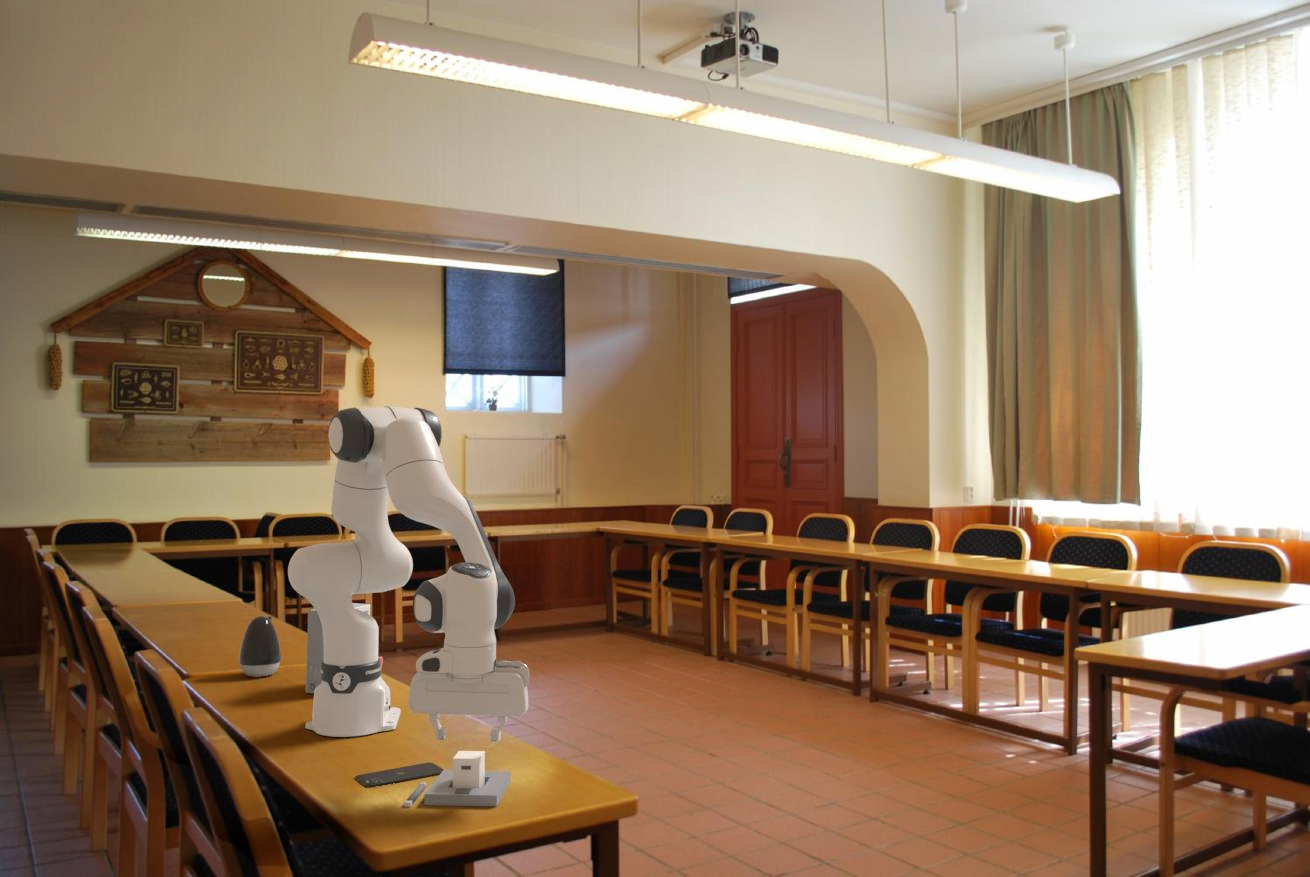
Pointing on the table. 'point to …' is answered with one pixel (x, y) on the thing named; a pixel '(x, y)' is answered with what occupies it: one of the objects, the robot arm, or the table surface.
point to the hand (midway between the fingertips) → (468, 739)
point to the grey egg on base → (260, 648)
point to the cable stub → (415, 795)
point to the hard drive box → (318, 647)
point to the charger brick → (469, 769)
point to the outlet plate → (468, 790)
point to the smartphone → (399, 774)
